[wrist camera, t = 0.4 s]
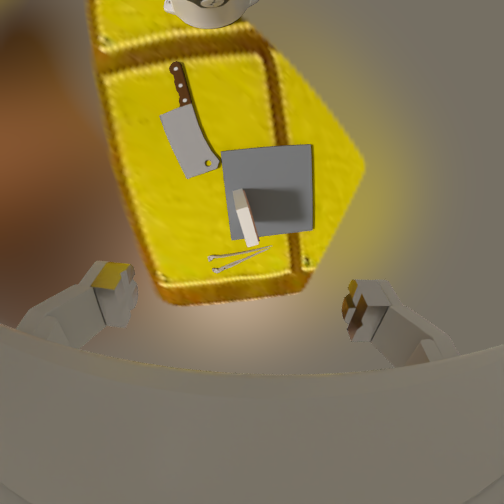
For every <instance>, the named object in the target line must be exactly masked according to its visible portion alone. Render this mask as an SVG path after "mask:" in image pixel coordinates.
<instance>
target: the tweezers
mask: <svg viewBox="0 0 504 504" xmlns="http://www.w3.org/2000/svg"><path fill="white" fill-rule="evenodd" d="M267 247H270V246H267ZM267 247H263V248H267ZM263 248H259V249H254V250H249V251H244V252H238V253H233V254H225V255H212V256H209V257H208V260H209V262H210V261H211V260H212V259H213V258H221V257H227V256H232V255H238V254H243V253H248V252H252V251H256V250H260V249H263ZM269 249H270V248H269ZM266 250H268V249H266ZM263 251H265V250H262V251H260V252H257V253H255V254H253V255H251V256H248V257H246V258H244V259H241V260H238V261H235V262H233V263H230V264H228V265H226V266H223V267H221V268H218V269H214V268H212V270H213V272H215V273H219V272H220V271H222V270H225V269H227V268H230V267H232V266H234V265H236V264H238V263H240V262H242V261H244V260H246V259H248V258H250V257H252V256H254V255H257V254H259V253H261V252H263ZM225 267H226V268H225ZM223 268H225V269H223Z"/></svg>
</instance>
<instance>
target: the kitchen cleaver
mask: <svg viewBox="0 0 504 504" xmlns="http://www.w3.org/2000/svg"><path fill="white" fill-rule="evenodd" d="M169 70H170V72H171V73H172V74H173V75H174V79H175V81H174V83H175V86H176V90H177V92H178V93H179V96H180V98H179V103H180V107H179V108H177V109H174V110H172V111H170V112H167V113H165V114H163V115H160V119H161V122H162V125H163V127H164V130H165V133H166V135H167V138H168V140H169V142H170V145H171V147H172V149H173V151H174V153H175V156H176V158H177V160H178V162H179V164H180V166H181V168H182V170H183V172H184V174H185V176H186V178H187V179H188V178H191V177H194V176H197V175H199V174H202V173H205V172H208V171H211V170H214V169H217V166H218V163H219V159H218V158H217V157H216V156H215V154H214V153H213V152H212V151H211V149H210V147H209V145H208V144H207V142H206V140H205V138H204V136H203V134H202V131H201V129H200V127H199V124H198V121H197V118H196V115H195V112H194V109H193V106H192V101H191V97H190V94H189V90H188V87H187V83H186V80H185V76H184V72H183V69H182V65H181V64H180V63H179V62H177V61H176V62H173V63H172V64H171V66H170V68H169ZM206 160H210V161H211V162H212V164H211V166H206V165H205V161H206Z"/></svg>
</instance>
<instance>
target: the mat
mask: <svg viewBox="0 0 504 504" xmlns="http://www.w3.org/2000/svg"><path fill="white" fill-rule="evenodd" d="M221 158H222V166H223V175H224V183H225V191H226V200H227V208H228V216H229V224H230V231H231V239H232V240H237V239H245V238H244V234H243V231H242V228H241V225H240V221H239V218H238V215H237V212H236V207H235V202H234V196H233V191H235V190H238V189H243V190H244V191H245V194H246V197H247V200H248V202H249V205H250V208H251V212H252V215H253V219H254V222H255V226H256V229H257V233H258V237H261V236H269V235H277V234H285V233H293V232H302V231H310V230H312V162H311V145H310V144H307V145H287V146H272V147H260V148H249V149H239V150H230V151H222V152H221Z"/></svg>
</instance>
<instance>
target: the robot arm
mask: <svg viewBox="0 0 504 504" xmlns="http://www.w3.org/2000/svg"><path fill="white" fill-rule="evenodd" d="M258 1H259V0H165V3H164V10H165V11H166V12H168V13H171V14H174V15H177V16H178V17H179V18H180V19H181V20H183V21H184V22H185V23H187V24H189V25H191V26H194V27H197V28H204V29H212V28H219V27H223V26H226V25H228V24H231V23H233V22H234V21H236V20H237V19H238V18H240V17H241V16H242V15H243V13H244V12H245V11H246V9H247V8H248V7H250V6H252V5H254V4H255V3H257V2H258ZM169 2H170V3H171V4H170V3H169ZM134 275H135V271H134V267H133V266H132V265H131V264H123V263H114V262H106V261H96V262H95V263H94V264H93V266H92V267H91V268H90V270H89V271H88V272H87V274H86V275H85V276H84V278H83V279H82V280H81V282H80V283H79V284H78V285H73V286H71V287H69V288H68V289H66V290H64V291H62V292H60V293H58V294H56V295H55V296H53V297H51V298H49V299H47V300H46V301H44V302H42V303H40V304H38V305H36V306H35V307H33V308H31V309H29V311H28V312H27V314H26V315H25V316H24V318H23V319H22V321H21V322H20V323H19V325H18V327H17V328H16V329H13V328H10V327H8V326H5V325H2V324H0V504H504V344H502V345H499V346H495V347H492V348H488V349H485V350H481V351H477V352H473V353H469V354H465V355H461V356H460V355H459V353H458V351H457V349H456V347H455V345H454V344H453V342H452V340H451V339H450V337H449V336H448V335H447V334H446V333H444V332H443V331H441V330H440V329H439V328H438V327H436V326H435V325H433V324H432V323H430V322H429V321H428V320H426V319H424V318H423V317H421V316H420V315H419V314H417V313H416V312H415V311H413V310H412V309H410V308H409V307H407V306H403V305H402V303H401V301H400V299H399V298H398V296H397V294H396V293H395V291H394V289H393V288H392V286H391V285H390V283H389V282H388V281H387V280H352V281H351V282H350V284H349V287H348V290H349V292H350V293H349V294H348V295H347V296H346V297H344V301H343V304H342V316H343V319H344V321H345V322H346V323H347V324H349V325H348V328H347V331H348V334H349V337H350V339H351V342H371V343H372V344H373V345H374V346H375V347H376V349H378V351H379V352H380V353H382V355H383V356H384V357H385V358H386V359H387V360H388V361H389V362H390V363H391V364H392V365H393V366H394V367H395V368H388V369H380V370H371V371H361V372H349V373H334V374H333V373H332V374H306V375H267V374H266V375H265V374H240V373H224V372H211V371H201V370H190V369H182V368H174V367H166V366H160V365H153V364H147V363H141V362H136V361H130V360H125V359H120V358H115V357H110V356H105V355H101V354H97V353H92V352H88V351H84V350H80V348H81V347H82V346H83V345H84V344H85V343H87V342H88V341H89V340H90V339H91V338H93V337H94V336H95V335H96V334H97V333H99V332H100V331H101V330H102V329H103V328H105V327H106V325H107V326H113V327H120V328H126V326H127V324H128V322H129V319H130V317H131V314H130V310H132V309H133V308H135V306H136V303H137V299H138V287H137V283H136V282H135V281H134V280H133V277H134Z"/></svg>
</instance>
